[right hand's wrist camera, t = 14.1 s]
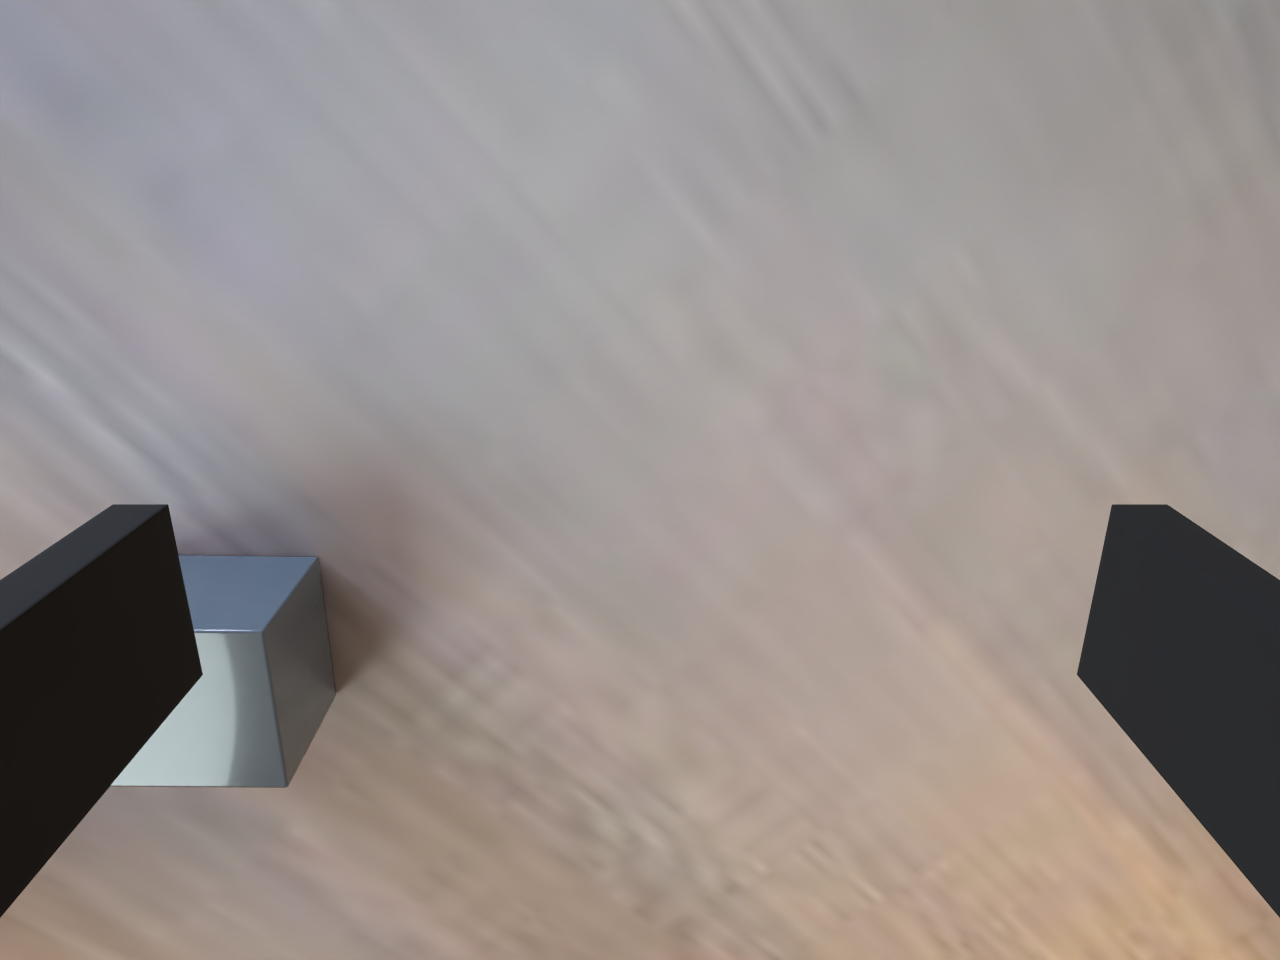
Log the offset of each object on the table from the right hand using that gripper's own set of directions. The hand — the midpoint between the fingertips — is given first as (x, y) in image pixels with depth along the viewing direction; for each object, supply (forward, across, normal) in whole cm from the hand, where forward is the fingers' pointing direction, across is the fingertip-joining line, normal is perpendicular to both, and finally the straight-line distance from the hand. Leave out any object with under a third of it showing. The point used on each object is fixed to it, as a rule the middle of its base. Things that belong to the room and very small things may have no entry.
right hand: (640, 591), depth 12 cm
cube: (+11, -11, -7) cm, 18 cm away
